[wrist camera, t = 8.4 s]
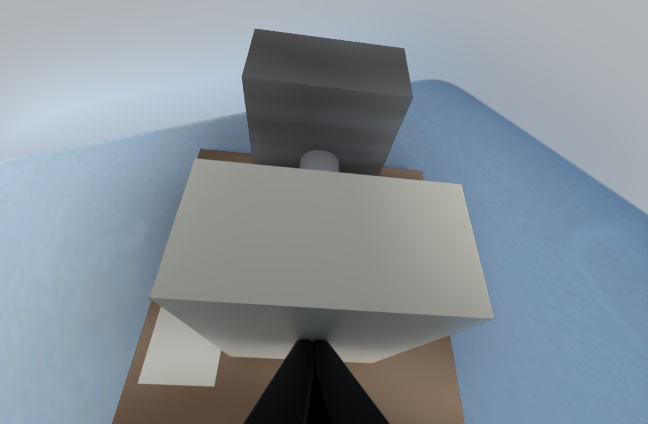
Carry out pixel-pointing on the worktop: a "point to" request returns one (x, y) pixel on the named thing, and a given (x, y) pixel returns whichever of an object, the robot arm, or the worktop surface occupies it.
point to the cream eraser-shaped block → (320, 260)
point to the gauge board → (250, 376)
